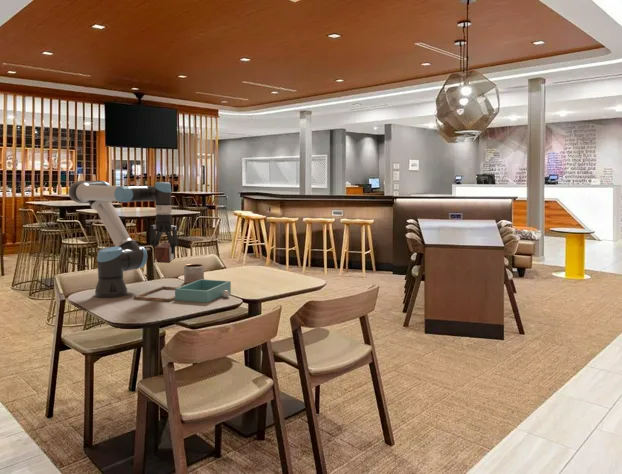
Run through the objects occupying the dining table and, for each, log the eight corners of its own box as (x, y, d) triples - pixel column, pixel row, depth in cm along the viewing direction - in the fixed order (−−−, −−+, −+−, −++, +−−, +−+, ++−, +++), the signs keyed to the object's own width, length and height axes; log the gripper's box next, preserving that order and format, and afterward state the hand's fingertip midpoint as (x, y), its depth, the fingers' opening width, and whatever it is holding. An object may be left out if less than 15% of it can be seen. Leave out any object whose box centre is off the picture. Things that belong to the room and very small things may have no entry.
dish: (175, 300, 253) (174, 288, 252) (200, 289, 277) (200, 279, 276) (207, 302, 248) (207, 291, 247) (230, 291, 272) (230, 281, 271)
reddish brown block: (166, 265, 254) (166, 246, 253) (153, 264, 254) (153, 246, 253) (175, 258, 272) (175, 241, 271) (163, 258, 272) (163, 241, 271)
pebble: (220, 297, 258) (220, 290, 257) (224, 296, 261) (224, 289, 261) (227, 298, 257) (227, 291, 256) (230, 296, 260) (230, 289, 260)
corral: (133, 298, 255) (133, 296, 254) (163, 288, 279) (162, 286, 279) (169, 301, 249) (169, 299, 249) (195, 290, 273) (195, 288, 273)
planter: (195, 279, 302) (194, 263, 301) (208, 282, 296) (207, 265, 295) (180, 282, 294) (179, 265, 293) (193, 285, 287) (193, 267, 286)
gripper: (141, 213, 258) (142, 259, 261) (177, 215, 253) (178, 262, 256) (150, 212, 266) (151, 257, 268) (185, 213, 260) (186, 259, 263)
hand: (164, 259), depth 262 cm, fingers closed on reddish brown block, 7 cm apart
